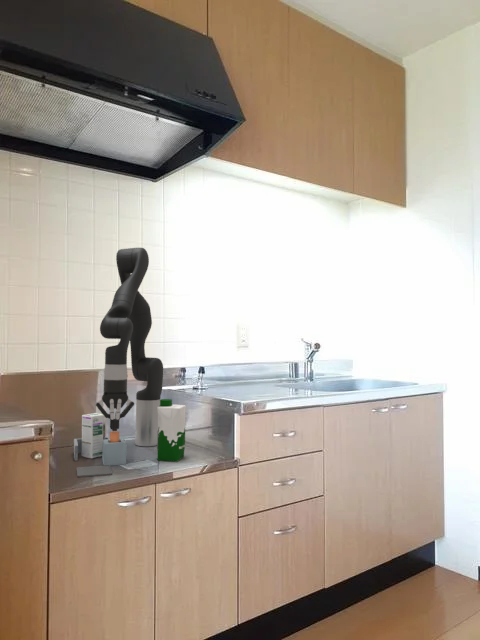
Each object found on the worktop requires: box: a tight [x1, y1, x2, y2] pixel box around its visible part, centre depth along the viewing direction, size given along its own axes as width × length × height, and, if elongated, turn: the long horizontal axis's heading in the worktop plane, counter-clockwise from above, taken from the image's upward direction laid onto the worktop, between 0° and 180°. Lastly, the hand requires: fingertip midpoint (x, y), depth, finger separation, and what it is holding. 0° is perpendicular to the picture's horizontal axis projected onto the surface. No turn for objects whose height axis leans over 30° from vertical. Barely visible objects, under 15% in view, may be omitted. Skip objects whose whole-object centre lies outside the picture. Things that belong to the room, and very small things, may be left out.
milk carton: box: [156, 398, 187, 463], centre depth 178 cm, size 9×9×20 cm
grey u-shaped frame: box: [73, 436, 110, 462], centre depth 181 cm, size 12×12×5 cm
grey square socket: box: [101, 438, 128, 466], centre depth 172 cm, size 7×7×7 cm
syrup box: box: [81, 412, 106, 460], centre depth 180 cm, size 6×6×14 cm
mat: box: [76, 464, 113, 478], centre depth 160 cm, size 10×10×1 cm
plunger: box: [109, 430, 120, 443], centre depth 172 cm, size 3×3×6 cm
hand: (114, 430), depth 172 cm, fingers closed
